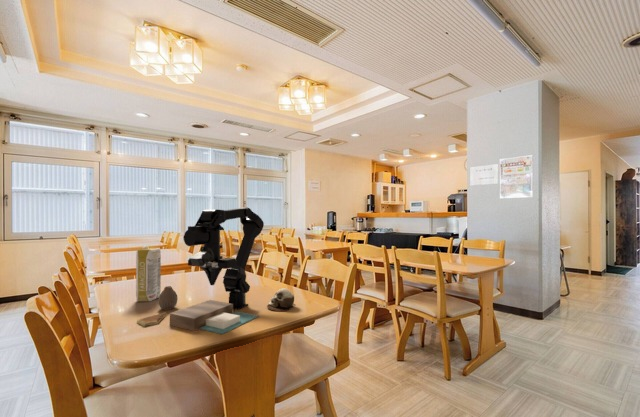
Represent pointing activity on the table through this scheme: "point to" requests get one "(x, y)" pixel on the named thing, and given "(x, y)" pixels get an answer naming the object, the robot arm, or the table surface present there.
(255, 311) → the table surface
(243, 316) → the mat
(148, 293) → the juice carton
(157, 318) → the shard
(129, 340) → the table surface
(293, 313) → the table surface
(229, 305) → the brick
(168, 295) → the vase
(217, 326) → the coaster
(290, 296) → the skull
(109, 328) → the table surface
